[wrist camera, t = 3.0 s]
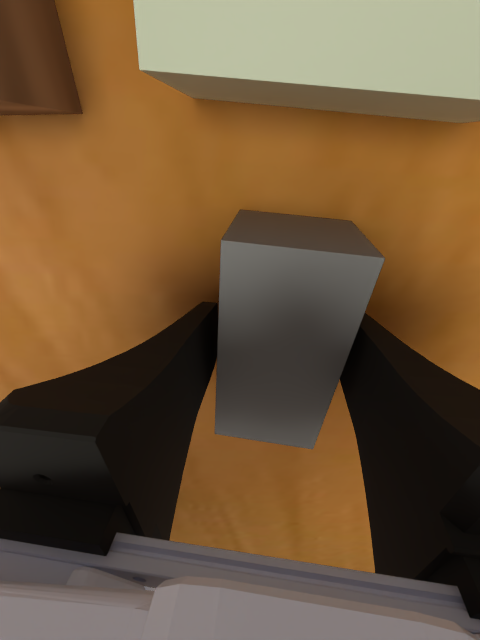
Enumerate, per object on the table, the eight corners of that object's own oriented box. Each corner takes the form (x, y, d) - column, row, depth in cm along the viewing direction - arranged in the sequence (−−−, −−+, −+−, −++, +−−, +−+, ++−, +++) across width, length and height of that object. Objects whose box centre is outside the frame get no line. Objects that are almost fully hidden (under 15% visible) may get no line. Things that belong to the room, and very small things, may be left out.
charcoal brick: (305, 377, 14) (312, 449, 11) (229, 367, 15) (214, 434, 11) (350, 219, 10) (385, 258, 7) (240, 208, 10) (221, 240, 7)
